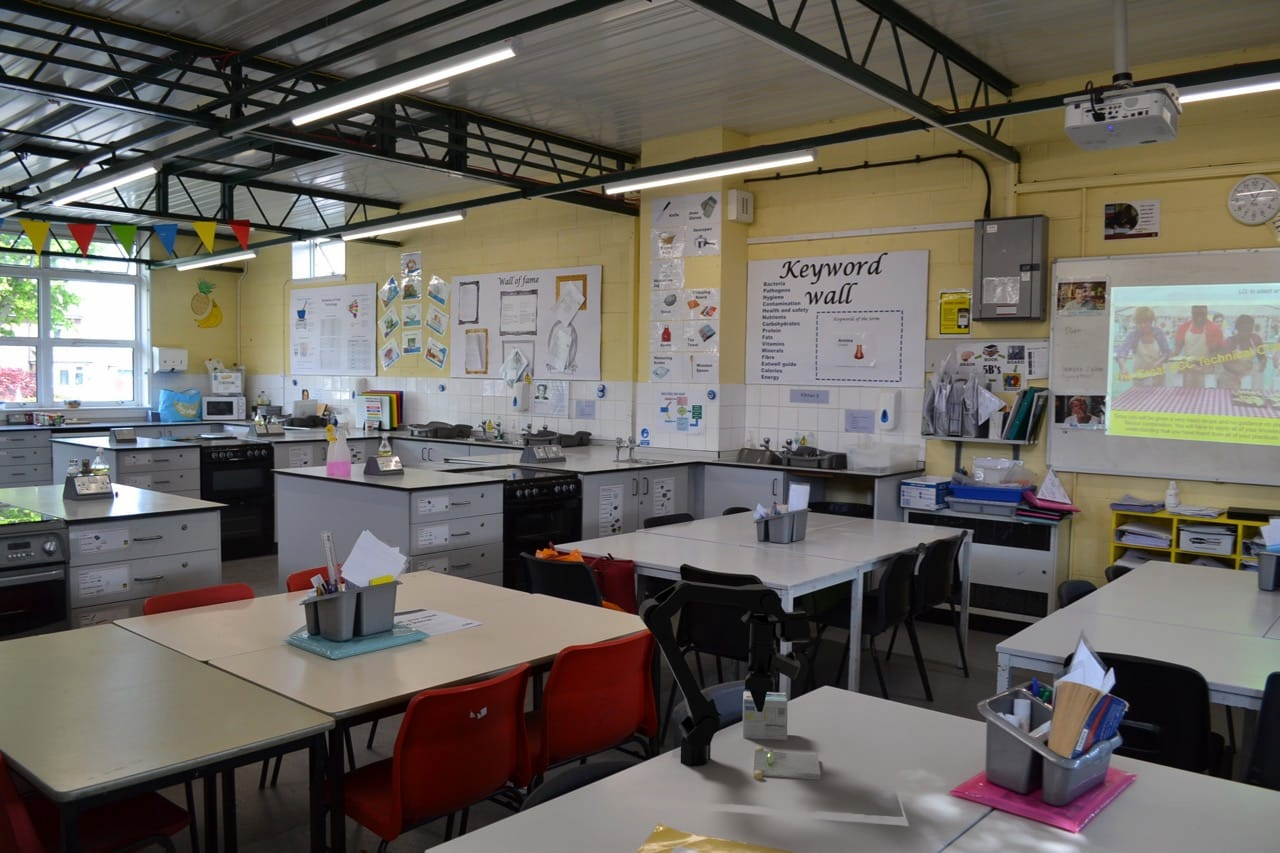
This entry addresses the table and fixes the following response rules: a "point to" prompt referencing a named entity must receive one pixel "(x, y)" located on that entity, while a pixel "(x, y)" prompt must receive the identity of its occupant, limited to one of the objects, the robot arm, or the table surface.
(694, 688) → the robot arm
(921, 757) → the table surface
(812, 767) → the level plate
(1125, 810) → the table surface
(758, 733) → the light bulb box
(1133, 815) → the table surface
